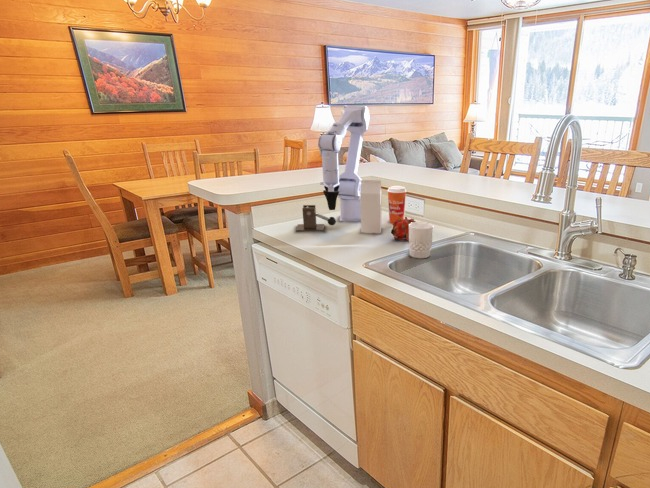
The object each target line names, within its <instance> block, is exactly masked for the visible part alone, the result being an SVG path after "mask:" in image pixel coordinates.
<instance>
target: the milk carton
mask: <svg viewBox="0 0 650 488" xmlns="http://www.w3.org/2000/svg"><path fill="white" fill-rule="evenodd" d="M360 198H361V221H360V233H362V234H363V233H364V234H381V232H382V180H381V179H380V180H379V179H362V180H361V196H360Z"/></svg>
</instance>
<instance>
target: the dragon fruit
mask: <svg viewBox="0 0 650 488" xmlns="http://www.w3.org/2000/svg"><path fill="white" fill-rule="evenodd" d="M413 222H416V220H415V219H414V218H412V217H411V218H408V217H407V216H404V219H399V220H398V221H396V222H394V223H393V224H392V229H391V230H390V234H391V235H392V236H394V237H393V239H394V240H395V241H396V240H397V241H401V240H404V239H405V240H406V242H407V241H408V242H409V224H410V223H413Z"/></svg>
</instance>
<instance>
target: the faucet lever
mask: <svg viewBox="0 0 650 488" xmlns="http://www.w3.org/2000/svg"><path fill="white" fill-rule="evenodd" d="M307 208H310V207H308V206H307ZM315 216H316V218H319V219H322V220H324V221H327V224H328V225H329V226H334V225H336V223H337V220H336V217H334V216H329V217H328V216H325V215H323V214H321V213H318V212H317V211H316V212H315Z"/></svg>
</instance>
